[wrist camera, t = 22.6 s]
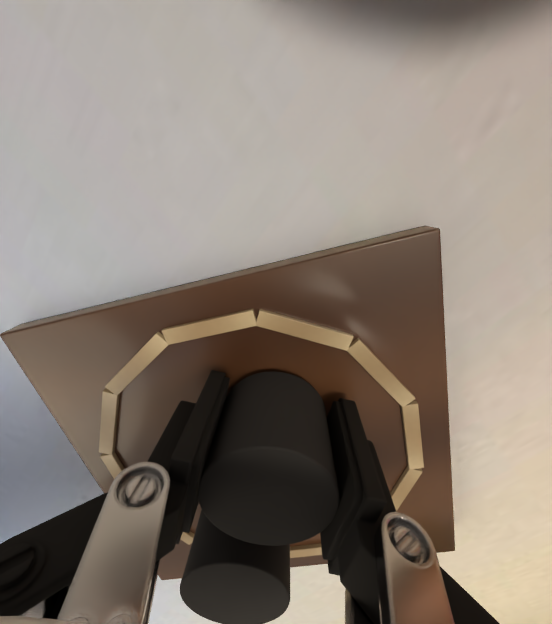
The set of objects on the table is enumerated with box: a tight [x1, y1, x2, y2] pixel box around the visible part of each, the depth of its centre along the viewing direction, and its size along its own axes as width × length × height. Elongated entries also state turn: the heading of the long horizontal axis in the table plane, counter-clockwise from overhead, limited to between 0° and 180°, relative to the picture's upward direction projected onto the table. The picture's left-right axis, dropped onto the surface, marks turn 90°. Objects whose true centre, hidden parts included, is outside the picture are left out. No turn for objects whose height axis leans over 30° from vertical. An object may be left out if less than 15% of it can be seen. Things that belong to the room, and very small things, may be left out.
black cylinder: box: [198, 371, 340, 546], centre depth 10 cm, size 4×4×4 cm
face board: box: [0, 226, 455, 580], centre depth 13 cm, size 16×16×1 cm
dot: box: [180, 510, 290, 624], centre depth 12 cm, size 4×4×4 cm
